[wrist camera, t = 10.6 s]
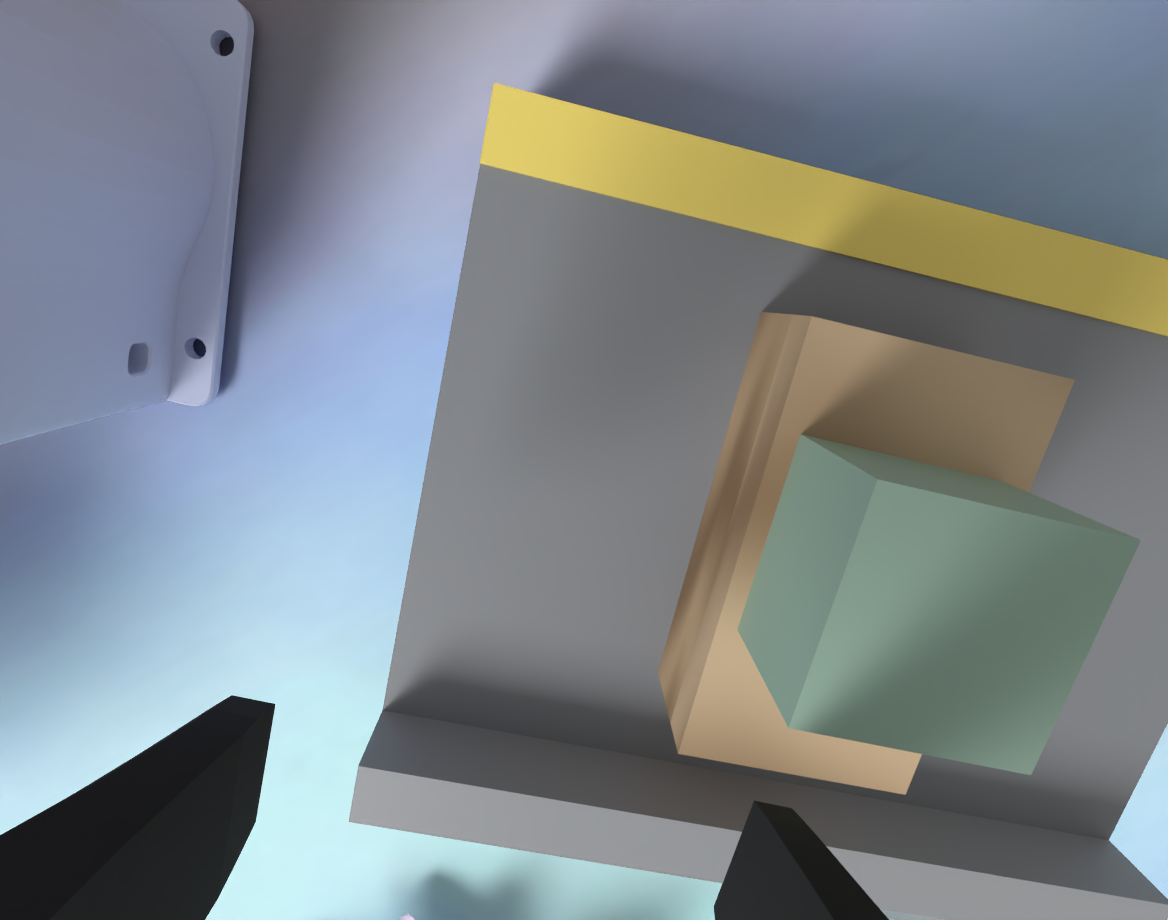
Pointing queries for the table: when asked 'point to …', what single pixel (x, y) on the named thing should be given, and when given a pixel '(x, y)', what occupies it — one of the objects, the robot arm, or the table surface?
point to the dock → (678, 498)
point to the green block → (926, 605)
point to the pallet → (754, 485)
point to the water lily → (407, 917)
